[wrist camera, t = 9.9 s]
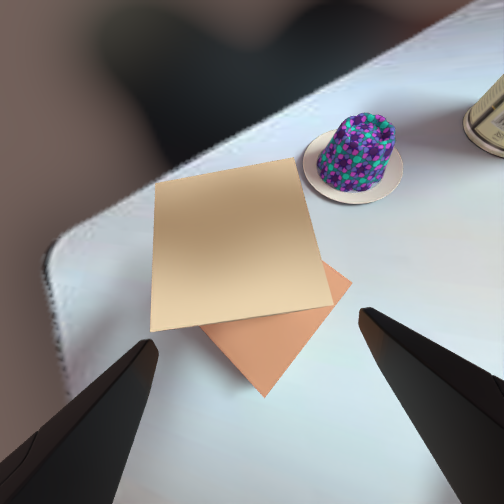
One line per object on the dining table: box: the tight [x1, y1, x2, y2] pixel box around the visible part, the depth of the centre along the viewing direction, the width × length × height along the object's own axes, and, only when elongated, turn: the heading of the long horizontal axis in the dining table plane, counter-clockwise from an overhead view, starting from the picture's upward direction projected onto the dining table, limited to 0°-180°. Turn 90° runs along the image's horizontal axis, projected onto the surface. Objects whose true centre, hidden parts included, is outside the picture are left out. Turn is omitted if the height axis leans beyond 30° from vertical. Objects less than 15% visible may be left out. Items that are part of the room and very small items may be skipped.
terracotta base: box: [199, 261, 352, 398], centre depth 19 cm, size 12×12×3 cm
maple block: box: [150, 157, 334, 332], centre depth 12 cm, size 5×5×12 cm
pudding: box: [303, 113, 403, 204], centre depth 22 cm, size 12×12×5 cm
